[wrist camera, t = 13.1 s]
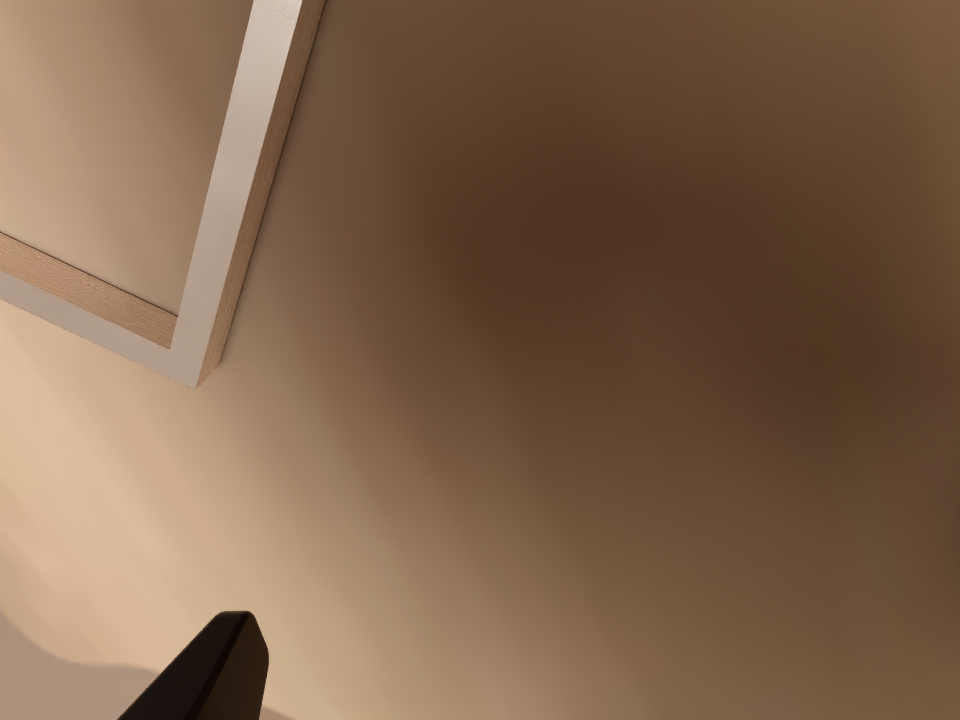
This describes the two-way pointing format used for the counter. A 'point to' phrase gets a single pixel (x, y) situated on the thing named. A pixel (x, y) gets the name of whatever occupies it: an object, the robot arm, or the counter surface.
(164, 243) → the counter surface
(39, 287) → the socket rail
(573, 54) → the counter surface
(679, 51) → the counter surface
